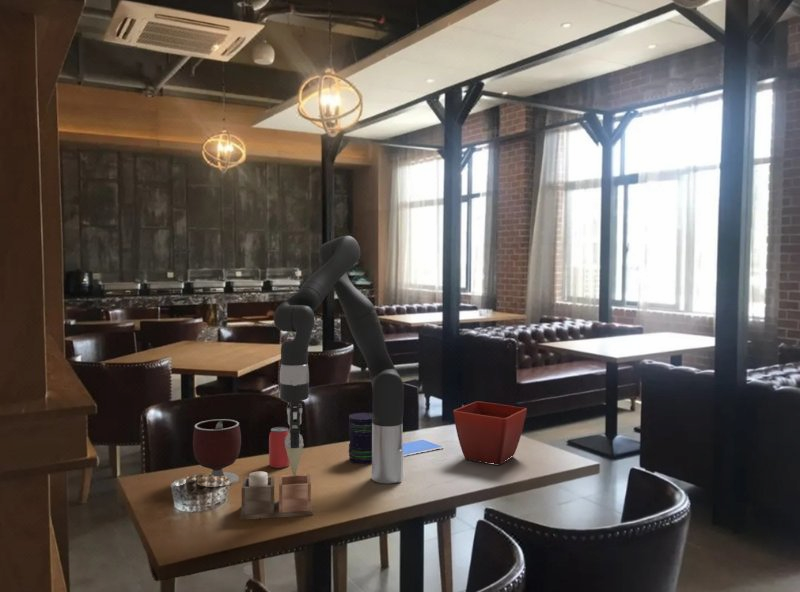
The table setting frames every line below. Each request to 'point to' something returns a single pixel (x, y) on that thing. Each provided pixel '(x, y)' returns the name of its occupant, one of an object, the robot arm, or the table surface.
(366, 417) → the storage jar
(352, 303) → the robot arm
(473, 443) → the plant pot
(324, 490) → the table surface
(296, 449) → the ice cream cone
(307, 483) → the condiment caddy
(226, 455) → the mate gourd
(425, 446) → the tablet computer
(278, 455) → the beer can
